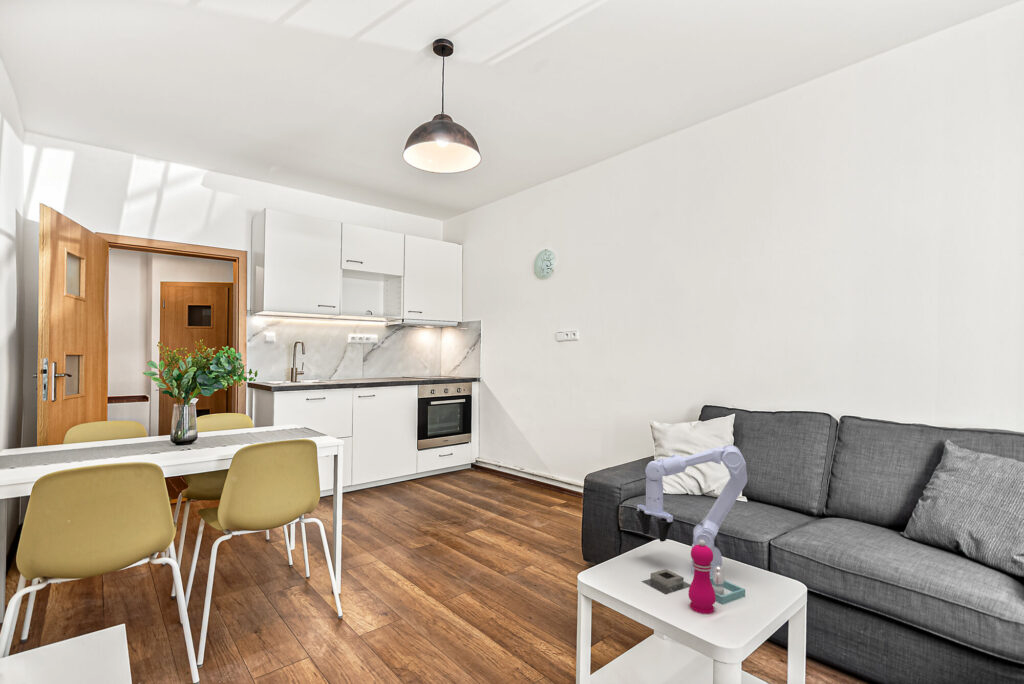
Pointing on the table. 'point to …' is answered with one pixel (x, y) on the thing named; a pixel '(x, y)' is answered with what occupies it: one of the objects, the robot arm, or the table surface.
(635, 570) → the table surface
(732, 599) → the tray
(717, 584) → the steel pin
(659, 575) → the hitch plate
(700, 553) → the pepper mill
